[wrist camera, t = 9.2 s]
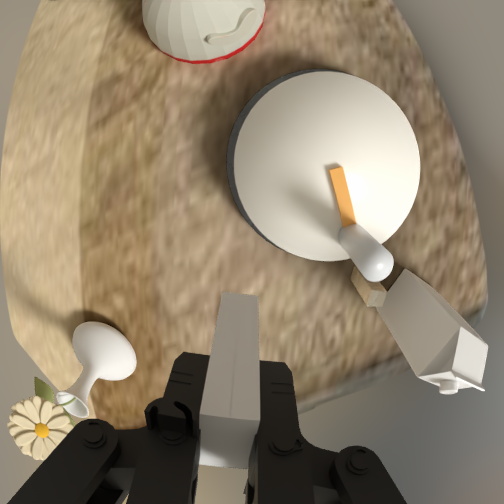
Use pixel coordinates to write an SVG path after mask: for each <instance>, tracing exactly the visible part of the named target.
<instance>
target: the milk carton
mask: <svg viewBox="0 0 504 504" xmlns="http://www.w3.org/2000/svg"><path fill="white" fill-rule="evenodd" d="M376 310H377V311H378V313H379V315H380V316H381V318H382V319H383V321H384V323H385V324H386V326H387V327H388V329H389V331H390V332H391V334H392V336H393V337H394V339H395V341H396V342H397V344H398V346H399V347H400V349H401V351H402V352H403V354H404V356H405V357H406V359H407V361H408V363H409V364H410V366H411V368H412V370H413V371H414V373H415V375H416V376H417V377H418V378H421V379H423V380H425V381H427V382H430V383H433V384H435V385H437V386H440V389H439V392H440V393H442V394H454V393H457V391H458V389H462V388H468V387H475V388H477V389H479V390H481V391H485V389H484V388H483V387H482V385H481V381H482V376H483V372H484V367H485V362H486V356H487V350H488V345H487V344H486V343H485V342H484V341H483V340H482V338H481V337H480V336H479V335H478V334H477V333H476V332H475V331H474V330H473V329H472V327H471V326H470V325H469V324H468V323H467V322H466V321H465V320H464V319H463V318H462V317H461V316H460V315H459V314H458V313H457V312H456V310H455V309H454V308H453V307H452V306H451V305H450V304H449V303H448V302H447V301H446V300H445V299H444V298H443V297H442V296H441V295H440V294H439V293H438V292H437V291H436V290H435V289H434V288H433V287H431V286H430V285H428V284H427V283H426V282H424V281H423V280H422V279H420V278H419V277H417V276H416V275H415V274H413V273H412V272H410V271H409V270H407V269H406V268H405V269H404V270H403V271H402V273H401V274H400V276H399V277H398V278H397V280H396V281H395V283H394V284H393V285H392V287H391V288H390V289H389V291H388V292H387V294H386V297H385V300H384V303H383V306H382V307H376Z"/></svg>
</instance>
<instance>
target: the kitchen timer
mask: <svg viewBox="0 0 504 504" xmlns="http://www.w3.org/2000/svg"><path fill="white" fill-rule="evenodd" d="M142 13H143V22H144V25H145V28H146V30H147V32H148V35H149V37H150V39H151V40H152V41H153V42H154V43H155V45H156V46H157V47H158V48H159V49H160V50H161V51H162V52H164V53H165V54H166V55H168V56H170V57H172V58H174V59H176V60H178V61H183V62H187V63H192V64H202V63H213V62H217V61H220V60H224V59H228V58H230V57H231V56H233V55H235V54H237V53H239V52H241V51H243V50H244V49H245V48H246V47H247V46H248V45H249V44H250V43H251V42H252V41H253V40H255V38H256V36H257V35H258V33H259V31H260V30H261V28H262V25H263V21H264V16H265V2H264V0H142Z"/></svg>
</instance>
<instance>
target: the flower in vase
mask: <svg viewBox="0 0 504 504" xmlns="http://www.w3.org/2000/svg"><path fill="white" fill-rule="evenodd" d="M72 345H73V349H74V352H75V354H76V357H77V359H78V360H79V362H80V363H81V365H82V366H83V371H82V373H81V375H80V377H79V378H78V379H77V381H76V382H75V383H74V384H73V385H72V386H71V387H70V388H69V389H67V390H65V391H60V392H58V393H57V394H56V398H57V401H58V403H59V405H56V404H55V403H53V398H54V393H53V390H52V389H51V387H50V386H49V385H47V384H46V383H45V382H43V381H42V380H40V379H38V378H37V377H35V394H36V396H34V397H30V398H29V400H28V399H26V400H21V402H20V403H19V402H18V403H16V404H15V405H13V406H12V407H11V410H12V412H13V413H14V414H10V415H9V418H10V420H11V421H10V422H8V424H7V426H8V428H9V432H10V434H11V435H13V436H12V437H13V439H14V440H15V443H16V444H17V445H18V446H19V448H20V449H21V451H22V453H23V454H28V455H29V456H33V458H34V459H35V460H39V459H41V460H45V459H46V458H47V457H48V456H49V455H50V454H51V452H52V451H53V450H54V449H55V448H56V447H57V446H58V444H59V443H60V442H61V441H62V440H63V439H64V438H65V437H66V435H67V434H68V433H69V432H70V431H71V430H72V429H73V428H74V426H75V423H74V421H73V419H72V418H71V416H70V415H69V414H68V412H69V413H70V414H72V415H74V416H77V417H80V418H85V417H87V416H88V415H89V410H88V407H87V399H88V394H89V392H90V389H91V387H92V385H93V383H94V382H95V380H96V379H97V378H101V379H105V380H122V379H125V378H126V377H128V376H129V375H131V374H132V373H133V372H134V370H135V368H136V362H137V361H136V355H135V352H134V350H133V348H132V346H131V344H130V343H129V341H128V340H127V339H126V337H125V336H124V335H123V334H121V333H120V332H119V331H118V330H116V329H115V328H113V327H111V326H109V325H107V324H104V323H101V322H84V323H82V324H80V325H79V326H77V328H76V329H75V331H74V333H73V338H72Z"/></svg>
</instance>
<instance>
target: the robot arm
mask: <svg viewBox="0 0 504 504" xmlns="http://www.w3.org/2000/svg"><path fill="white" fill-rule="evenodd" d="M144 412H145V418H146V423H147V426H145V427H142V428H139V429H128V430H115V429H114V427H113V426H112V425H110V424H109V423H108V422H106V421H103V420H100V419H87V420H84V421H81V422H80V423H78V424H77V425H76V426H74V428H73V429H72V430H71V431H70V432H69V433H68V434H67V435H66V437H65V438H64V439H63V440H62V441H61V442H60V443H59V444H58V446H57V447H56V448H55V449H54V450H53V451H52V452H51V454H50V455H49V456H48V457H47V458H46V459H45V460H44V462H43V463H42V464H41V465H40V466H39V467H38V469H37V470H36V471H35V472H34V473H33V474H32V475H31V477H30V478H29V479H28V480H27V481H26V482H25V483H24V485H23V486H22V487H21V488H20V489H19V491H18V492H17V493H16V494H15V495H14V496H13V497H12V499H11V500H10V501H9V502H8V503H7V504H122V503H123V501H124V500H125V498H126V497H127V495H128V494H129V495H128V499H127V502H126V504H194V503H195V496H196V488H197V481H198V466H199V464H203V465H210V466H218V467H228V468H239V469H248V479H247V483H246V486H245V489H244V494H246V503H245V504H407V503H406V501H405V500H404V498H403V496H402V495H401V493H400V492H399V490H398V488H397V487H396V485H395V484H394V482H393V480H392V478H391V477H390V475H389V474H388V472H387V470H386V469H385V467H384V465H383V464H382V462H381V461H380V459H379V457H378V456H377V455H376V454H375V453H374V452H373V451H372V450H370V449H368V448H366V447H362V446H350V447H347V448H345V449H343V450H341V451H340V452H339V453H338V452H333V451H329V450H325V449H321V448H318V447H315V446H313V445H312V444H310V443H309V442H308V441H307V440H306V439H305V438H304V437H303V436H302V434H301V432H300V428H299V422H298V414H297V406H296V399H295V391H294V386H293V376H292V372H291V371H290V369H289V368H288V366H287V365H286V363H285V362H272V361H261V360H259V307H258V296H256V295H247V294H239V293H230V292H222V297H221V302H220V308H219V313H218V318H217V323H216V328H215V333H214V338H213V344H212V349H211V354H210V356H209V355H202V354H195V353H188V352H183V353H182V354H181V355H180V356H179V357H178V358H177V359H176V360H175V361H174V364H173V367H172V370H171V374H170V377H169V381H168V383H167V386H166V389H165V393H164V396H163V398H159V399H156V400H154V401H153V402H151V403H149V404H148V406H147V407H146V409H145V410H144Z"/></svg>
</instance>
